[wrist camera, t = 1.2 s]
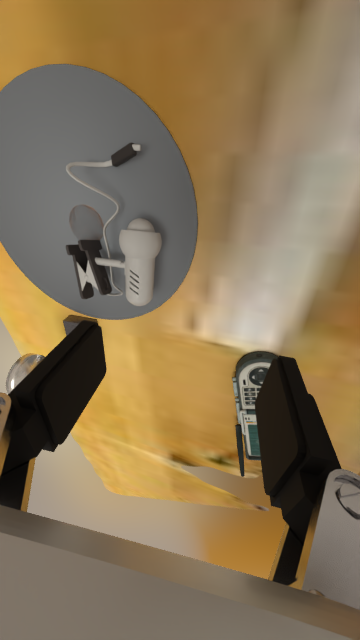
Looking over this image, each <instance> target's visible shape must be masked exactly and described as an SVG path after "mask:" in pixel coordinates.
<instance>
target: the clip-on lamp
mask: <svg viewBox="0 0 360 640" xmlns="http://www.w3.org/2000/svg"><path fill="white" fill-rule="evenodd" d="M137 151H141V145H138V144H135V143H132V142H131V143H129V144H127V145H126V146H124V147H123V148H121V149H120V150H118V151H117V152H115V153H114V154H113V155H111V160H110V161H106V162H73V163H69V164H68V165H66V171H67V172H68V174H69V175H70V176H71V177H72V178H73V179H75V180H76V181H77V182H79V183H81V184H83V185H84V186H86V187H88V188H90V189H92V190H94V191H96V192H98V193H100V194H102V195H103V196H105V197H107V198H109V199H110V200H112V201H113V202H114V203H115V204H116V205H117V210H116V212H115V214H114V215H113V216H112V217H111V218H110V219H109V220H108V221H107V223H106V224H105V226H104V229H103V235H104V240H105V243H106V247H107V252H108V257H109V259H105V258H102V257H101V254H100V251H99V250H101V249H102V246H101V242H100V241H99V240H79V241H78V244H76V245H66V251H67V254H68V255H72V257H73V262H74V267H75V272H76V277H77V282H78V287H79V292H80V296H81V298H82V299H88V298H91V297H93V296H94V290H93V287H95V288H96V289H97V290H99V292H100V294H101V295H109V296H120V295H122V294H123V291H122V290H121V289H119V288H118V287H116V286H115V284H114V282H113V272H112V267H118V268H125V285H126V298H127V300H128V301H129V302H130V303H131V304H133V305H136V306H143V305H146V304H148V303H149V302H150V301H151V299H152V298H153V285H154V268H155V257H156V256H157V255H158V253H159V251H160V249H161V244H162V240H161V235H160V233H155V230H154V227H153V226H152V224H151V223H150V222H149V221H147V220H146V219H142V218H138V219H134V220H133V221H131V222H130V223H129V225H128V227H127V230H121V232H120V235H119V244H120V248H121V250H122V252H123V254H124V255H125V262H123V261H122V260H114V259H111V255H110V250H109V245H108V241H107V238H106V228H107V226H108V225H109V224H110V222H111V221H112V220H113V219H114V218H115V217H116V215H117V214H118V212H119V210H120V205H119V203H118V202H117V200H115V199H114V198H113V197H111V196H110V195H108V194H106V193H104V192H103V191H101V190H99V189H97V188H95V187H93V186H91V185H89V184H87V183H86V182H84V181H82V180H80V179H79V178H77V177H76V176H75V175H73V174H72V172H71V171H70V168H71V167H74V166H88V167H109V166H112V165H113V166H115V167H118V166H120V165H121V164H123V163H124V162H126V161H128V160H129V159H131V158H133V157H134V156H136V155H137ZM105 266H110V274H111V282H112V285H113V286H114V287H115V288H116V289H117V290H118V291H120V292H121V293H115V294H113V293H111V292H112V287H111V284H110V281H109V278H108V275H107V272H106V269H105Z"/></svg>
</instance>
